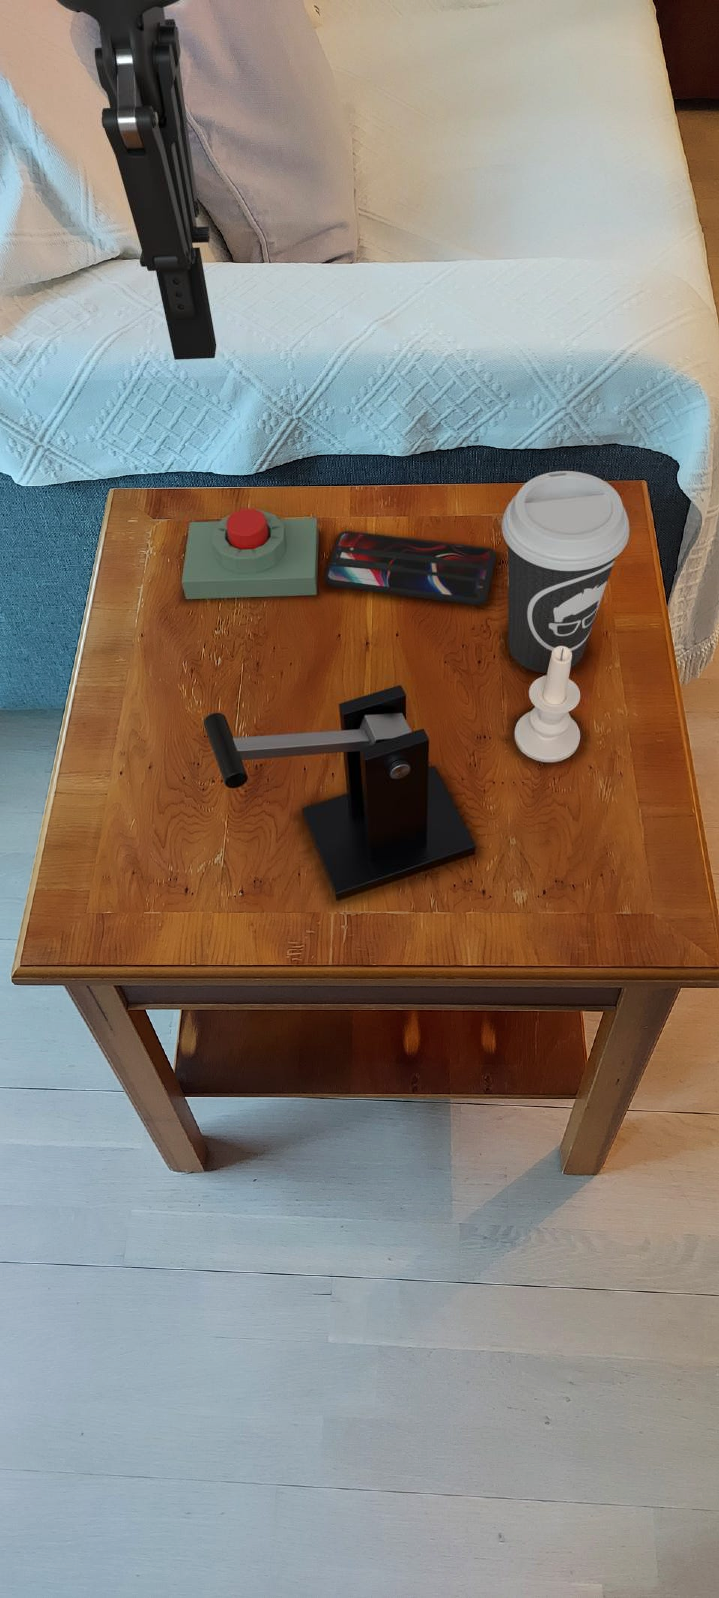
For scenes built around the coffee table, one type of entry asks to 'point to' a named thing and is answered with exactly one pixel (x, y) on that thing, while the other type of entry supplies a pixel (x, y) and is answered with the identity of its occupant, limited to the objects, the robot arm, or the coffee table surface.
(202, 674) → the coffee table surface
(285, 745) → the lever
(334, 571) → the smartphone
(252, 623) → the coffee table surface
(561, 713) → the candle
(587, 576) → the coffee cup
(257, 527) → the button
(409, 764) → the bracket
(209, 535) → the button box
